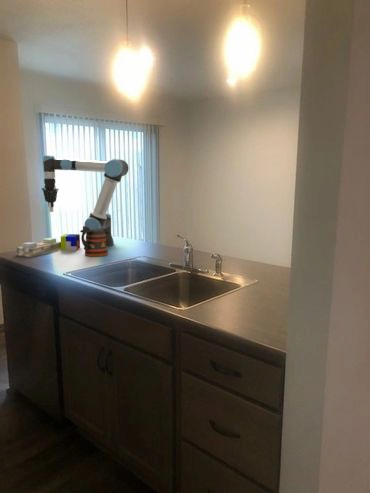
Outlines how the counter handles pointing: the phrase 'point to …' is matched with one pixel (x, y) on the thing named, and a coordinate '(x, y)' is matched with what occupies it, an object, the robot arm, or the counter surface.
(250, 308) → the counter surface
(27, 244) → the key slate
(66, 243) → the puzzle toy
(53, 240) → the key sage
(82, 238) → the beer stein
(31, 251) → the key console
